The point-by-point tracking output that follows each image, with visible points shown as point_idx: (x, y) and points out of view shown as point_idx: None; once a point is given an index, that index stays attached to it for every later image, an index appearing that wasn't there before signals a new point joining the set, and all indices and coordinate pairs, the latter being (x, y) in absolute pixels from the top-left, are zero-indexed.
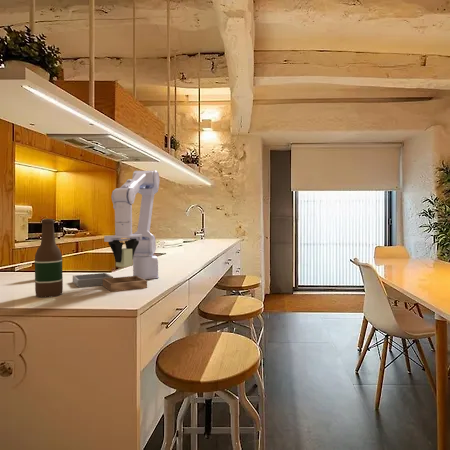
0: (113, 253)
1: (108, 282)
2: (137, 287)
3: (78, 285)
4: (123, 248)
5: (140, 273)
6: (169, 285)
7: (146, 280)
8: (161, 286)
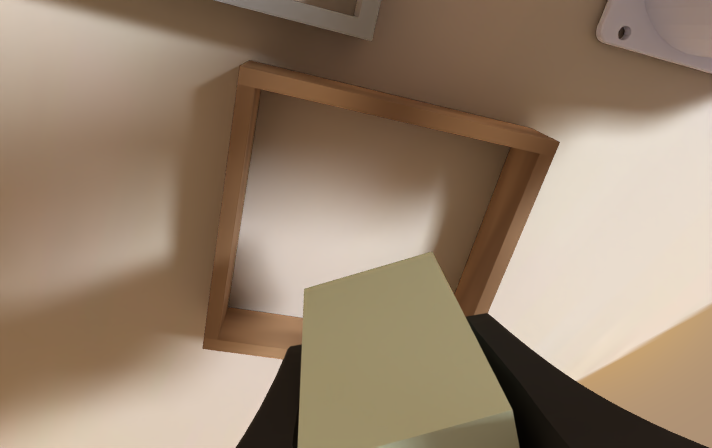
0: (249, 430)
1: (211, 282)
2: None
3: None
4: (483, 431)
5: (691, 32)
6: (575, 370)
7: None
8: None
